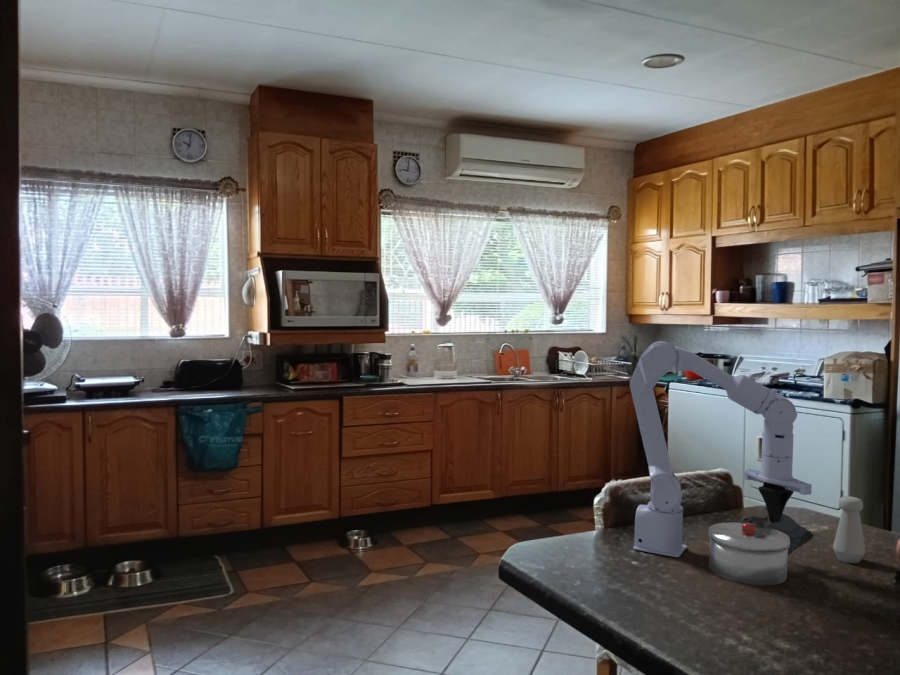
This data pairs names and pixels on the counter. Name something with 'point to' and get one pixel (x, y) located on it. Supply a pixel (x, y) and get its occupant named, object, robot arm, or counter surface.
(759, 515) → the lid
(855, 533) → the salt shaker
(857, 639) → the counter surface
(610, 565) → the counter surface
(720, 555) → the pot
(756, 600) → the counter surface
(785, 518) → the dark slate chunk
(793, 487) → the robot arm
